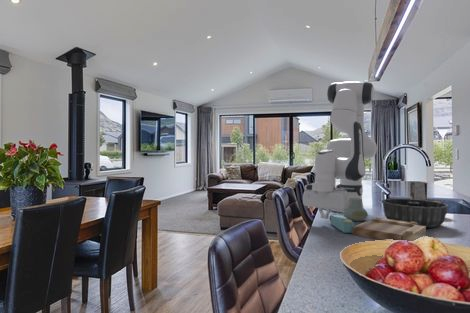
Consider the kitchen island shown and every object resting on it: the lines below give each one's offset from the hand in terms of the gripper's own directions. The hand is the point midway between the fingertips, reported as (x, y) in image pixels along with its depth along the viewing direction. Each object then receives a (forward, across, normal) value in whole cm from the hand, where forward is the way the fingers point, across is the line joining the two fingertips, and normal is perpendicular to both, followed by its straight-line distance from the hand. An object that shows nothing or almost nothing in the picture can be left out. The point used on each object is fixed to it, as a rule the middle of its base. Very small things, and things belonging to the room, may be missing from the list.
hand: (324, 218), depth 152 cm
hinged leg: (+2, -9, +2) cm, 9 cm away
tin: (+3, -30, -51) cm, 59 cm away
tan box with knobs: (+3, -27, -2) cm, 27 cm away
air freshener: (+3, -5, -20) cm, 21 cm away
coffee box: (+3, -21, -62) cm, 66 cm away
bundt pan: (+3, -28, -29) cm, 41 cm away
